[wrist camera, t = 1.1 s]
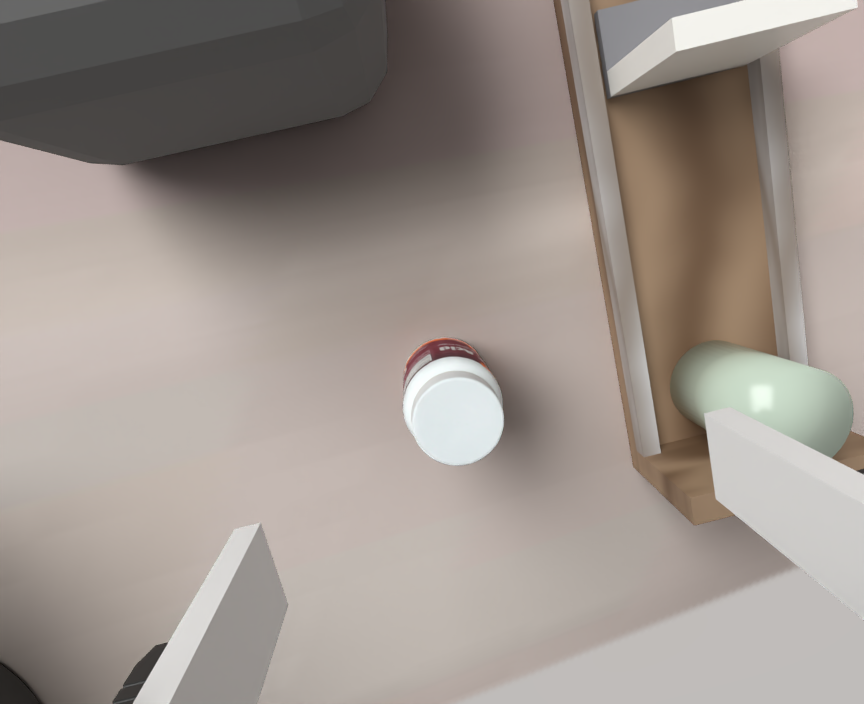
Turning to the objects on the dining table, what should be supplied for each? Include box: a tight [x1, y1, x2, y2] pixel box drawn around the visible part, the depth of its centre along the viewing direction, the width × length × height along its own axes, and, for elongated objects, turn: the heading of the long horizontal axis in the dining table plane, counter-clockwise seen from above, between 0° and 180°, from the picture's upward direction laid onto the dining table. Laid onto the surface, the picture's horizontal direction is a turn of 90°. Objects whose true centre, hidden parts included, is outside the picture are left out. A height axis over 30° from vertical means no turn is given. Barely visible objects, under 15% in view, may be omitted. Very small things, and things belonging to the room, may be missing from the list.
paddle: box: [594, 0, 858, 99], centre depth 24 cm, size 7×4×7 cm, turn 103°
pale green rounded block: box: [670, 340, 853, 458], centre depth 28 cm, size 5×5×7 cm
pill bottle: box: [403, 337, 504, 466], centre depth 27 cm, size 5×5×8 cm
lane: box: [554, 0, 864, 526], centre depth 27 cm, size 10×27×7 cm, turn 13°
